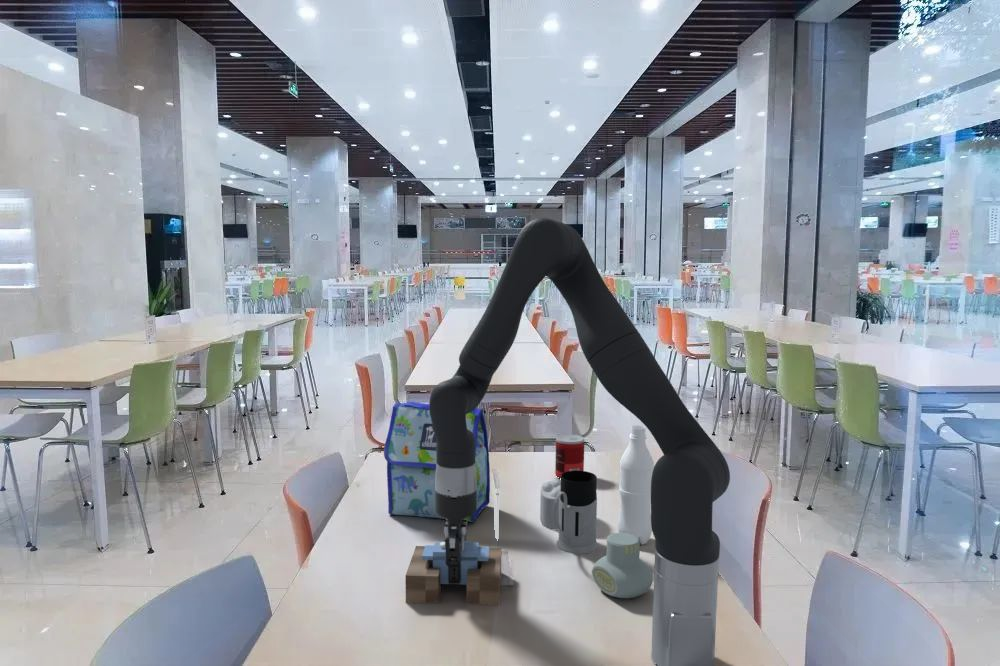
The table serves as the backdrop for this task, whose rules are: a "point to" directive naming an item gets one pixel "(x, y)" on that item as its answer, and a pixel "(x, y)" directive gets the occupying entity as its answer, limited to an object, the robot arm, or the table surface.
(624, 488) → the water bottle
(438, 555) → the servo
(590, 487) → the glass holder
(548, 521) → the lumpy-topped squat cylinder
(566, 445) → the canned food
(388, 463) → the lunch bag
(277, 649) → the table surface
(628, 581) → the air freshener
